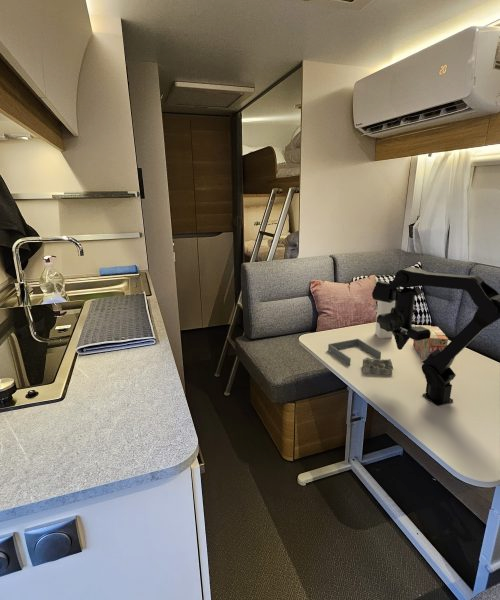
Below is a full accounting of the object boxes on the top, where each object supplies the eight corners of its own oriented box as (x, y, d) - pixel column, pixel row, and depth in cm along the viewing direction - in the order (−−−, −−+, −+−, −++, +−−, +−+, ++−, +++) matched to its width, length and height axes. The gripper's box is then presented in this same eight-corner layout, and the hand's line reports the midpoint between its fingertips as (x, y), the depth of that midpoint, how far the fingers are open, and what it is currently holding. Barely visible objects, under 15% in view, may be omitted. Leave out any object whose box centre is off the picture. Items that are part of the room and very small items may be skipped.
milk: (387, 333, 165) (392, 288, 159) (392, 338, 159) (397, 292, 153) (374, 333, 165) (378, 288, 159) (378, 338, 159) (383, 292, 153)
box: (380, 358, 139) (381, 352, 138) (349, 365, 135) (349, 358, 134) (357, 344, 153) (357, 338, 152) (328, 350, 148) (328, 344, 147)
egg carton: (362, 373, 129) (363, 364, 128) (361, 364, 136) (362, 355, 134) (393, 376, 126) (394, 366, 125) (390, 367, 133) (391, 357, 132)
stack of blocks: (412, 344, 152) (415, 318, 149) (427, 345, 151) (431, 318, 147) (426, 367, 132) (430, 337, 129) (444, 368, 131) (448, 338, 127)
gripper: (365, 301, 119) (362, 342, 124) (405, 317, 102) (400, 365, 107) (391, 297, 123) (387, 338, 127) (434, 312, 106) (428, 358, 110)
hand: (399, 349), depth 118 cm, fingers closed
